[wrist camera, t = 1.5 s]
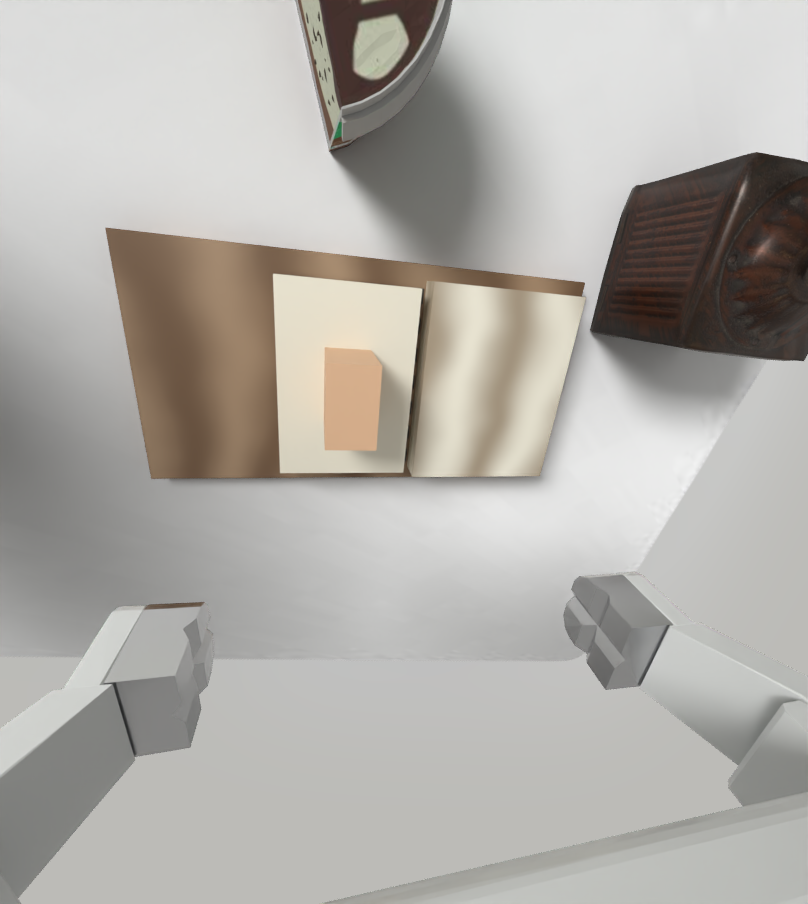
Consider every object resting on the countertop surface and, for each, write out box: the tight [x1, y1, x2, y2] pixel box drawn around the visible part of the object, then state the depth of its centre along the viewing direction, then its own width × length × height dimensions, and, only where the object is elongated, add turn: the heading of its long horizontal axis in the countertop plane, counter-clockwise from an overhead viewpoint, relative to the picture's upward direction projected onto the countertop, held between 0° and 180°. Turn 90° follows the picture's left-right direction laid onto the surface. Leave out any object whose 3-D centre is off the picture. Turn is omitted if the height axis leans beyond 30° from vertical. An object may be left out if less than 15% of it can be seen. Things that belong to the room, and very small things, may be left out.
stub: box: [273, 274, 422, 473], centre depth 25 cm, size 9×13×7 cm
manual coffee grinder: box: [590, 152, 808, 361], centre depth 22 cm, size 16×11×18 cm
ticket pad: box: [106, 228, 586, 479], centre depth 28 cm, size 31×16×4 cm, turn 84°
